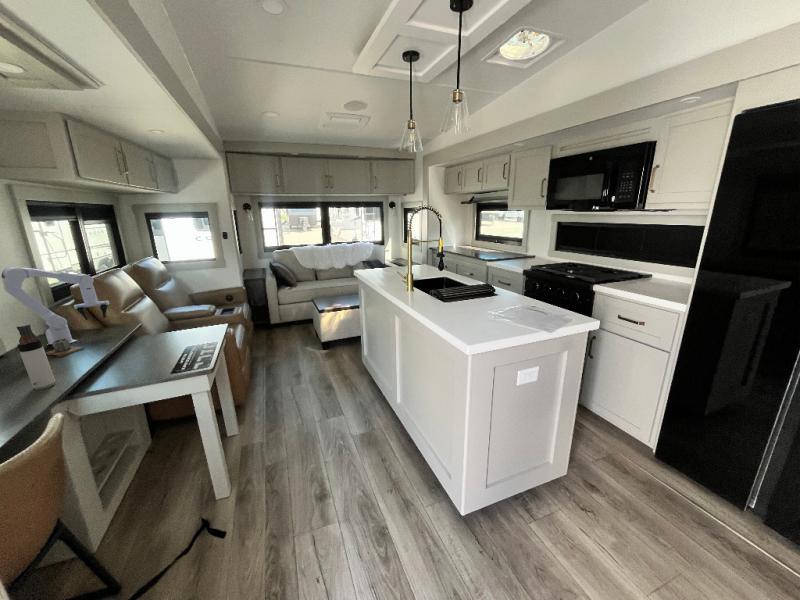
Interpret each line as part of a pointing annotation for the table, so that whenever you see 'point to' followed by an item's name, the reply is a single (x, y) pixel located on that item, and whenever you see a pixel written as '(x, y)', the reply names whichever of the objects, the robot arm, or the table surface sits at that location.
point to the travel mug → (36, 364)
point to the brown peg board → (73, 349)
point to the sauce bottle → (26, 333)
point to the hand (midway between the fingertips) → (96, 318)
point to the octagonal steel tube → (61, 345)
